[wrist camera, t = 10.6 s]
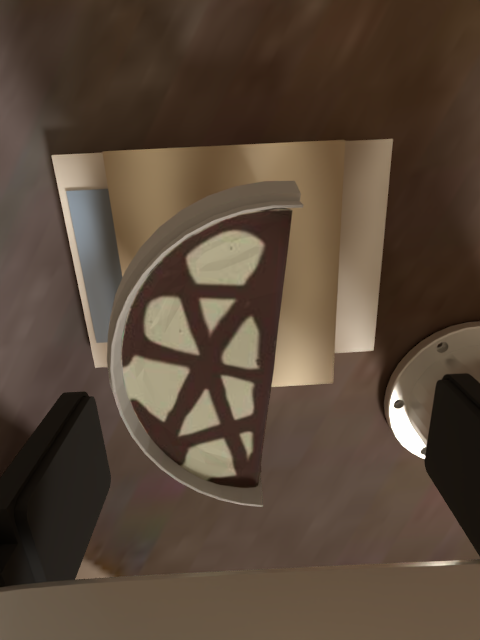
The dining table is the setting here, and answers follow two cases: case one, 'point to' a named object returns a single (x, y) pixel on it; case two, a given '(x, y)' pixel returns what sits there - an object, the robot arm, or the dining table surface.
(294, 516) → the dining table surface
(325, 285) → the build base
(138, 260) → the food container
